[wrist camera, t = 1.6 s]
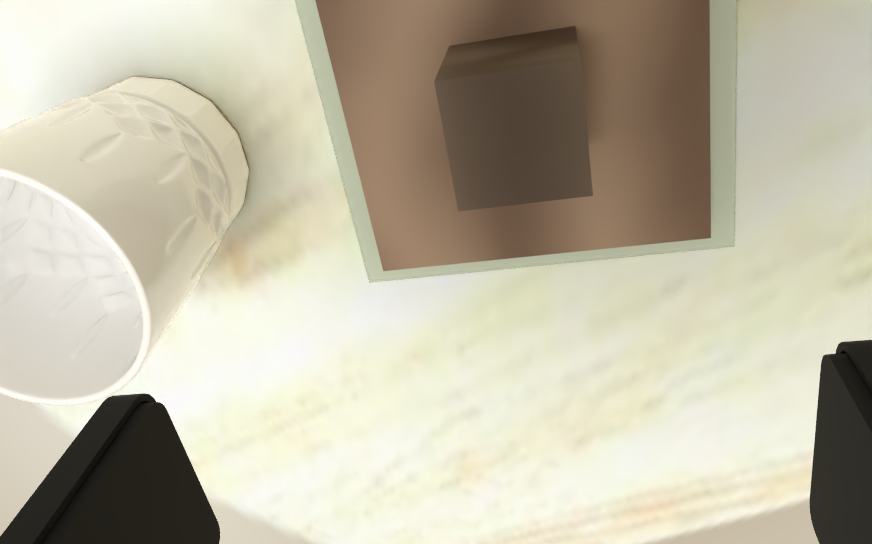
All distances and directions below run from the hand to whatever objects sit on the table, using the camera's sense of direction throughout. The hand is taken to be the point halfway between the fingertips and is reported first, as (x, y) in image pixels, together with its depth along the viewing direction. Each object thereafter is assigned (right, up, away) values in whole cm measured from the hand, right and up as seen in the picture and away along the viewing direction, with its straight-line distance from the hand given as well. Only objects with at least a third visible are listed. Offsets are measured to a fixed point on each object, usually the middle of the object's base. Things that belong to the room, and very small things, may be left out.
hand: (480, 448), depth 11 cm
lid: (+2, +9, +15) cm, 17 cm away
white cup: (-11, +7, +19) cm, 23 cm away
